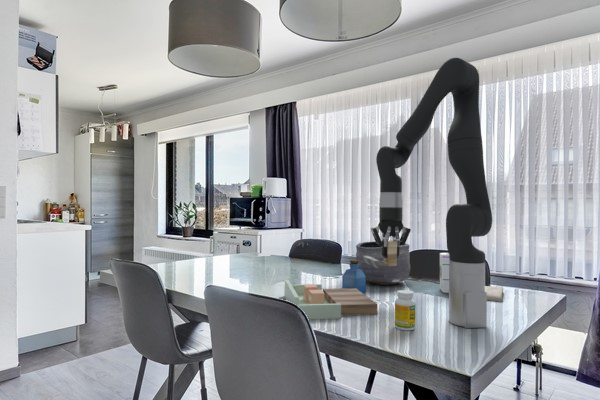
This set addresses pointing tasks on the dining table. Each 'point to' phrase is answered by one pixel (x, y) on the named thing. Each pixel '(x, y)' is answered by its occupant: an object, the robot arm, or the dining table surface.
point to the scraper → (388, 261)
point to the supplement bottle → (405, 310)
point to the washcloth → (494, 293)
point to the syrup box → (444, 272)
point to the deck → (351, 301)
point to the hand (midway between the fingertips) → (390, 257)
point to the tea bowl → (390, 272)
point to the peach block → (316, 297)
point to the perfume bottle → (354, 277)
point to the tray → (311, 310)
